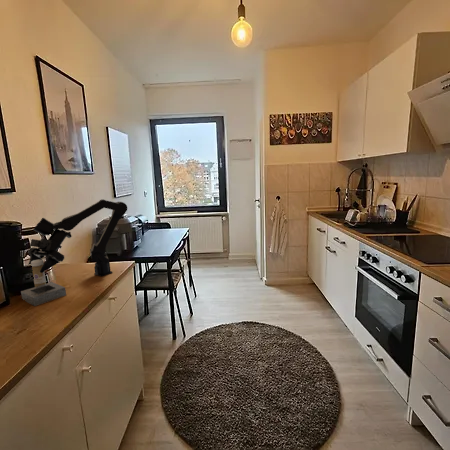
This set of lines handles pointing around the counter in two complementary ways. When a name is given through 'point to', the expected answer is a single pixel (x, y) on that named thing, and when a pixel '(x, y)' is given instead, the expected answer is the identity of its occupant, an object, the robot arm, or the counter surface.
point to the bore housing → (43, 293)
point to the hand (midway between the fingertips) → (34, 271)
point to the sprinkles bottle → (38, 273)
